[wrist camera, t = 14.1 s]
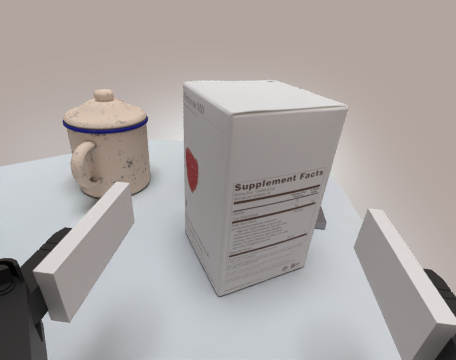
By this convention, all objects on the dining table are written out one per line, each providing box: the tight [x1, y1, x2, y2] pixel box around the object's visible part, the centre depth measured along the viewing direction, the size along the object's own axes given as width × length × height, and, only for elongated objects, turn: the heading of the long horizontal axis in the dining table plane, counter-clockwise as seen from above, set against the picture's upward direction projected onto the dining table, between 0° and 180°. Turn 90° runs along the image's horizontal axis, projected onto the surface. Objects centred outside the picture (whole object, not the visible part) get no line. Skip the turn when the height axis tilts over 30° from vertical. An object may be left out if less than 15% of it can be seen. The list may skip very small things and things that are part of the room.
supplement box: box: [183, 80, 349, 296], centre depth 24 cm, size 9×9×15 cm
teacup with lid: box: [63, 89, 150, 198], centre depth 33 cm, size 12×9×12 cm
